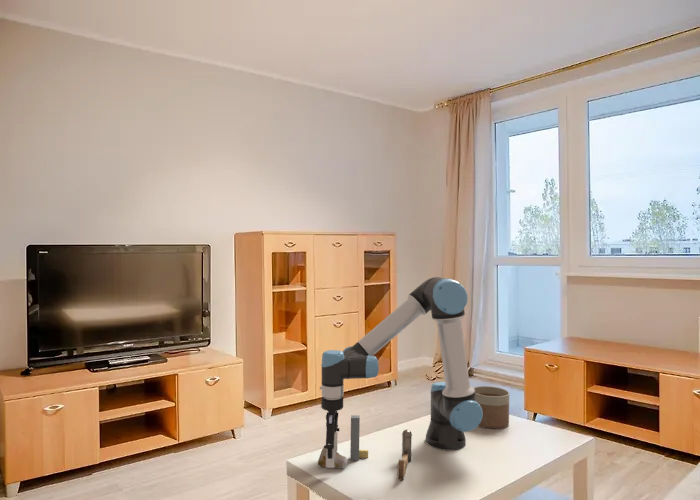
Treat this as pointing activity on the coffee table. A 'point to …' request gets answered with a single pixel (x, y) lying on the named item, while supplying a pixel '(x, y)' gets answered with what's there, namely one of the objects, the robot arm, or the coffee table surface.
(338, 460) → the white floral pitcher
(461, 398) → the robot arm
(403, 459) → the gate
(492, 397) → the planter
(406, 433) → the hinge post
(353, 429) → the post
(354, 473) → the coffee table surface
